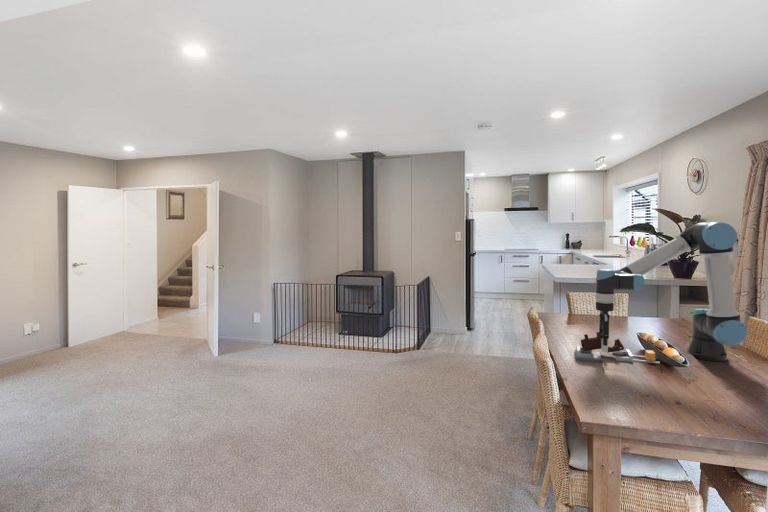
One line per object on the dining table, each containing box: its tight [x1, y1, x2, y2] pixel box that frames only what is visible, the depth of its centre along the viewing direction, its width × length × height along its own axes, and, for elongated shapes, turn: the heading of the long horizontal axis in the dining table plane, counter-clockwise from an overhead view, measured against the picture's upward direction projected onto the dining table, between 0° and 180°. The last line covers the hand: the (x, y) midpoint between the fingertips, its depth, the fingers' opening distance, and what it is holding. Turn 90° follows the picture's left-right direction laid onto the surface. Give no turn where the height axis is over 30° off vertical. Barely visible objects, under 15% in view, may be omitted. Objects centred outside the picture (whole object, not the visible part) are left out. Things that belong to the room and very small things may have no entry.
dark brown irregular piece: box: [580, 330, 625, 353], centre depth 195 cm, size 6×17×10 cm, turn 79°
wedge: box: [644, 349, 656, 361], centre depth 187 cm, size 3×5×4 cm, turn 158°
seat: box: [574, 344, 661, 365], centre depth 193 cm, size 34×13×4 cm, turn 68°
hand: (603, 349), depth 195 cm, fingers closed on dark brown irregular piece, 8 cm apart
